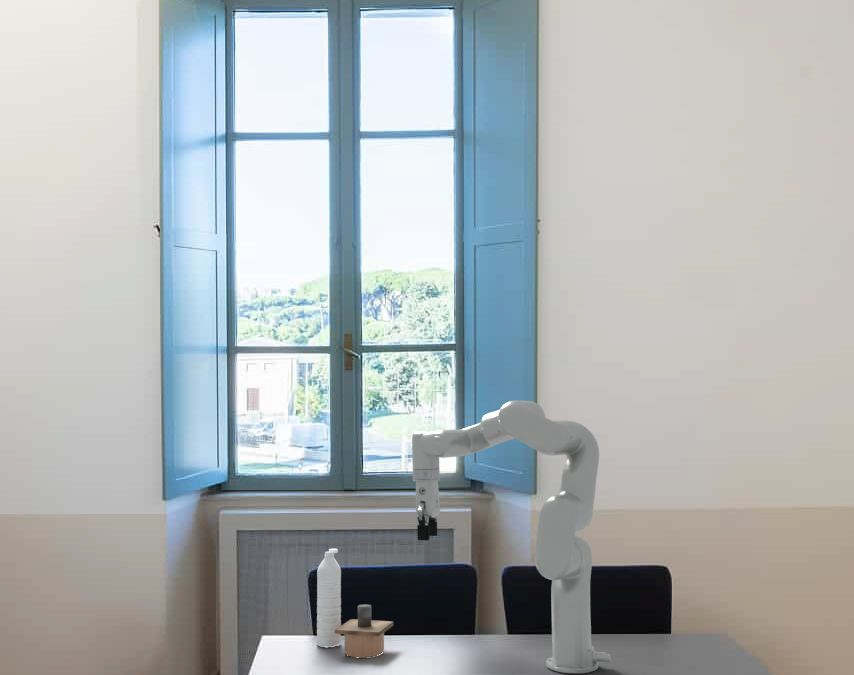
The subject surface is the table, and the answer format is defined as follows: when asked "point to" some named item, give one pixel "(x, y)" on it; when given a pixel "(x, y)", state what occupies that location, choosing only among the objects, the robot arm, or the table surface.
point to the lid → (364, 624)
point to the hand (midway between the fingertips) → (427, 537)
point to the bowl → (364, 645)
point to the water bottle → (328, 600)
